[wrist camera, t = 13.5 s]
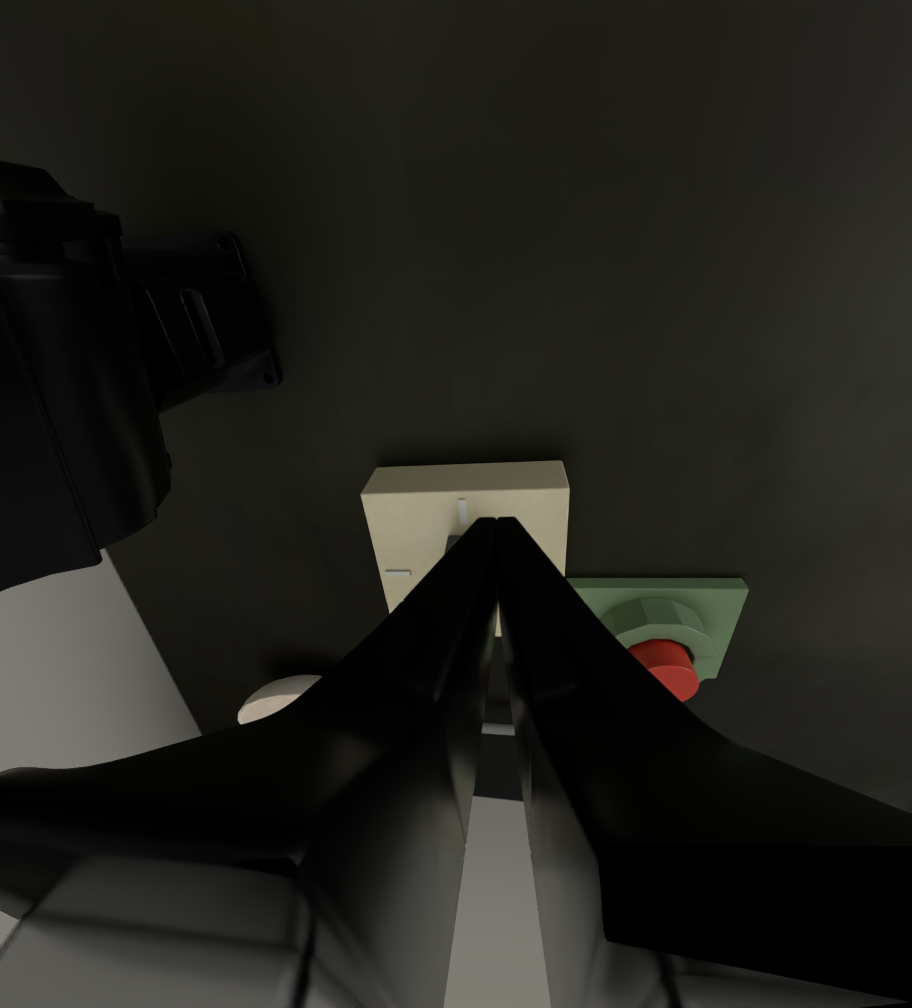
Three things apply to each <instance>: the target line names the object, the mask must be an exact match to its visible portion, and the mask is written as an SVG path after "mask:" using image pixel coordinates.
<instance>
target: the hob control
mask: <svg viewBox="0 0 912 1008" xmlns="http://www.w3.org/2000/svg"><path fill="white" fill-rule="evenodd" d="M569 494H570V488H569V484H568V480H567V477H566V473H565V469H564V465H563V462H562V461H561V460H560V461H533V462H506V463H480V464H453V465H427V466H400V467H377V468H376V469H375V471H374V473H373V474H372V476H371V478H370V479H369V481H368V483H367V484H366V486H365V488H364V489H363V491H362V493H361V498H362V503H363V507H364V511H365V515H366V519H367V523H368V527H369V531H370V535H371V539H372V543H373V547H374V551H375V555H376V560H377V564H378V568H379V572H380V576H381V580H382V584H383V588H384V592H385V596H386V600H387V604H388V608H389V612H390V613H391V612H392V611H393V610H394V609H395V608H396V607H397V606H398V604H399V603H400V602H402V601H403V599H404V598H405V597H406V596H407V595H408V594H409V593H410V592H411V590H412V589H413V588H414V587H415V586H416V585H417V584H418V583H419V582H420V581H421V579H422V578H423V577H424V576H425V575H426V574H427V573H428V572H429V571H430V570H431V569H432V567H433V566H434V565H435V564H436V563H437V562H438V561H439V560H440V559H441V558H442V557H443V555H444V553H445V548H446V543H447V538H448V536H449V535H463V534H464V532H465V531H466V530H467V529H468V528H469V527H470V526H471V525H472V524H473V523H474V521H475V520H476V519H477V518H479V517H495V518H496V519H497V518H498V517H510V516H514V517H516V518H517V519H518V521H519V522H520V523H521V524H522V525H523V527H524V528H525V529H526V530H527V532H528V533H529V534H530V535H531V536H532V538H533V539H534V540H535V541H536V543H537V544H538V545H539V546H540V548H541V549H542V550H543V551H544V552H545V554H546V555H547V556H548V557H549V559H550V560H551V561H552V562H553V564H554V565H555V566H556V567H557V568H558V570H559V571H560V572H561V573H562V575H563V576H564V577H565V561H566V544H567V528H568V511H569ZM495 636H501V628H500V620H499V607H498V617H497V625H496V633H495Z"/></svg>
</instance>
